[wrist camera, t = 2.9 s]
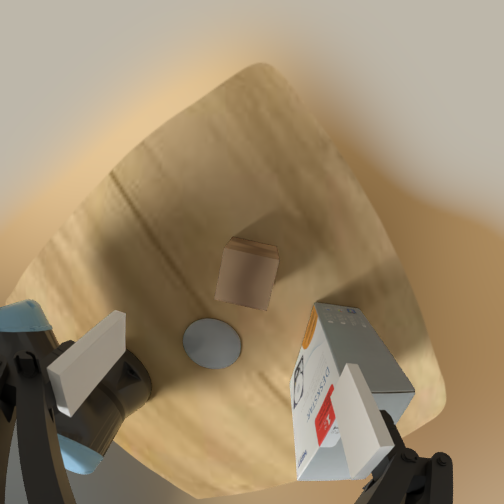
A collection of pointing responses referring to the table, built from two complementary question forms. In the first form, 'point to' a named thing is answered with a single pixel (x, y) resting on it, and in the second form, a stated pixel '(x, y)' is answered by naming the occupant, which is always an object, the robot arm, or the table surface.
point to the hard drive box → (325, 379)
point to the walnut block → (247, 273)
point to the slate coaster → (211, 343)
